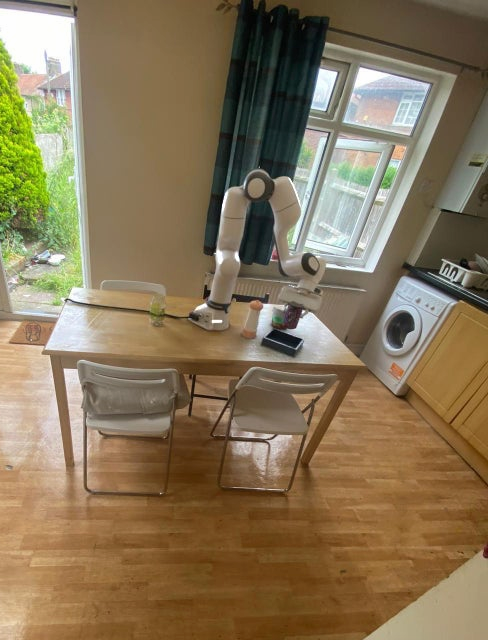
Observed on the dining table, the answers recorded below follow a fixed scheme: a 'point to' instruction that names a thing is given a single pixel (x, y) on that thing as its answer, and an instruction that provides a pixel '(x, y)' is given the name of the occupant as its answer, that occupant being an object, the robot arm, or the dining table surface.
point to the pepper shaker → (252, 319)
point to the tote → (282, 342)
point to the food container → (278, 319)
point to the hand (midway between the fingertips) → (292, 315)
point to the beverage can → (292, 315)
